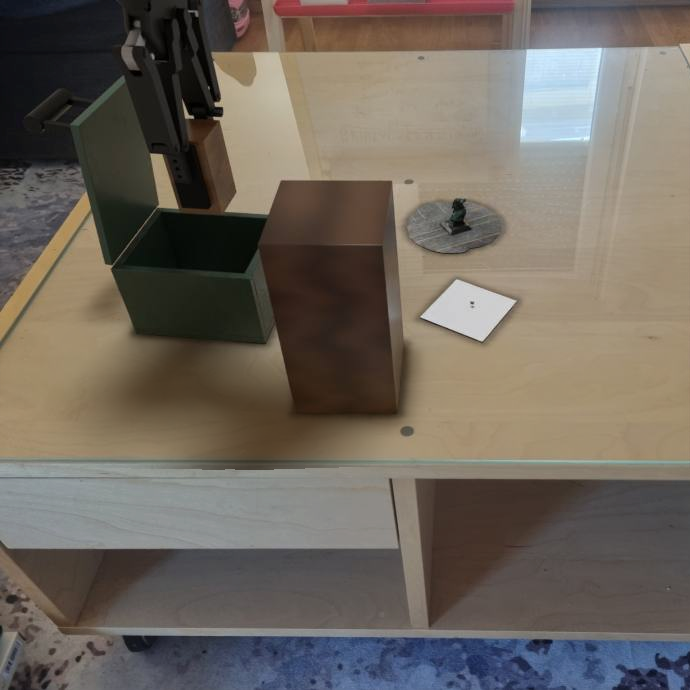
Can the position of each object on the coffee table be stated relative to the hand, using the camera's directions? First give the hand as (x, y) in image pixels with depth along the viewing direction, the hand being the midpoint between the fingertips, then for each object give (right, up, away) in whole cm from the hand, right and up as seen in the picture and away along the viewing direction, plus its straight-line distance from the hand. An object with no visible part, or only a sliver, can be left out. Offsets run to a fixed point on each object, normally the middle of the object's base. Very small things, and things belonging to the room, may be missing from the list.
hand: (206, 192), depth 75 cm
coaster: (+27, -11, +9) cm, 30 cm away
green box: (-2, -11, +10) cm, 15 cm away
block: (0, -1, +1) cm, 1 cm away
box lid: (-8, +2, -1) cm, 8 cm away
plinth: (+14, -19, +1) cm, 24 cm away
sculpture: (+25, 0, +22) cm, 33 cm away
